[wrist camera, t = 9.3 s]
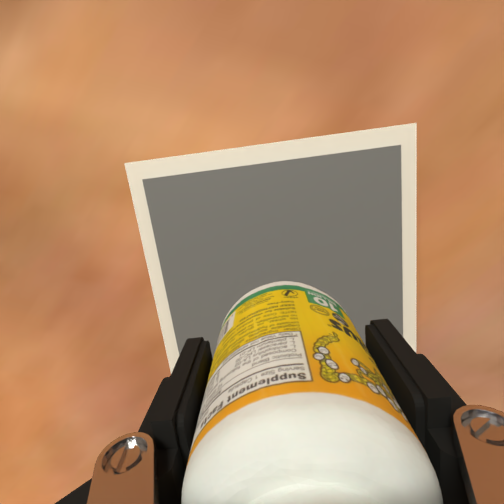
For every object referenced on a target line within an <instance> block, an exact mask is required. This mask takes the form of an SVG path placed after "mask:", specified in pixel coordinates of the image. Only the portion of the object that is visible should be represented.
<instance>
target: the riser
mask: <svg viewBox="0 0 504 504" xmlns="http://www.w3.org/2000/svg"><path fill="white" fill-rule="evenodd" d="M125 168H126V172H127V177H128V181H129V186H130V190H131V195H132V199H133V204H134V208H135V213H136V217H137V222H138V226H139V231H140V235H141V240H142V245H143V249H144V254H145V258H146V263H147V267H148V272H149V276H150V281H151V285H152V290H153V294H154V299H155V303H156V308H157V312H158V317H159V321H160V326H161V330H162V335H163V339H164V344H165V348H166V353H167V357H168V362H169V366H170V371H171V374H172V371H173V369H174V367H175V364H176V362H177V360H178V358H179V355H180V353H181V351H182V349H183V346H184V344H185V342H186V340H187V339H188V338H198V337H203V338H204V341H209V343H210V348H211V353H212V359H213V356H214V352H215V349H216V345H217V341H218V338H219V334H220V331H221V327H222V324H223V321H224V319H225V317H226V315H227V314H228V312H229V311H230V309H231V308H232V307H233V305H234V304H235V303H236V302H237V301H238V300H239V299H240V298H241V297H243V296H244V295H245V294H247V293H248V292H250V291H252V290H254V289H256V288H258V287H260V286H263V285H266V284H269V283H273V282H279V281H292V282H299V283H303V284H306V285H309V286H312V287H314V288H316V289H318V290H320V291H322V292H324V293H326V294H328V295H329V296H330V297H332V298H333V299H334V300H336V301H337V302H338V303H339V304H340V305H341V307H342V308H343V309H344V310H345V312H346V313H347V315H348V317H349V318H350V320H351V322H352V323H353V325H354V327H355V329H356V330H357V332H358V334H359V335H360V337H361V339H362V341H363V342H364V344H365V346H366V341H365V325H370V321H371V320H378V319H389V321H390V322H391V323H392V324H393V325H394V327H395V328H396V329H397V330H398V332H399V333H400V334H401V335H402V336H403V338H404V339H405V340H406V341H407V343H408V344H409V345H410V346H411V348H412V349H413V350H414V351H415V352H416V123H412V124H405V125H397V126H390V127H383V128H376V129H369V130H361V131H354V132H347V133H340V134H333V135H325V136H318V137H311V138H304V139H296V140H289V141H282V142H275V143H268V144H260V145H253V146H246V147H239V148H231V149H224V150H217V151H210V152H203V153H195V154H188V155H181V156H174V157H166V158H159V159H152V160H145V161H138V162H130V163H125Z"/></svg>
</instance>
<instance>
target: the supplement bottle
mask: <svg viewBox="0 0 504 504" xmlns="http://www.w3.org/2000/svg"><path fill="white" fill-rule="evenodd" d="M181 504H443V499H442V493H441V489H440V485H439V481H438V478H437V475H436V472H435V470H434V468H433V466H432V464H431V462H430V459H429V457H428V455H427V453H426V451H425V449H424V447H423V446H422V444H421V442H420V441H419V439H418V437H417V435H416V434H415V432H414V430H413V429H412V427H411V425H410V423H409V422H408V420H407V418H406V416H405V415H404V413H403V411H402V409H401V408H400V406H399V404H398V403H397V401H396V399H395V397H394V395H393V394H392V392H391V390H390V388H389V387H388V385H387V383H386V381H385V380H384V378H383V376H382V375H381V373H380V371H379V369H378V367H377V365H376V364H375V361H374V360H373V358H372V357H371V355H370V353H369V351H368V349H367V348H366V346H365V344H364V342H363V341H362V339H361V337H360V335H359V334H358V332H357V330H356V329H355V327H354V325H353V323H352V322H351V320H350V318H349V317H348V315H347V313H346V312H345V310H344V309H343V308H342V307H341V305H340V304H339V303H338V302H337V301H336V300H334V299H333V298H332V297H330V296H329V295H328V294H326V293H324V292H322V291H320V290H318V289H316V288H314V287H312V286H309V285H306V284H303V283H299V282H292V281H279V282H273V283H269V284H266V285H263V286H260V287H258V288H256V289H254V290H252V291H250V292H248V293H247V294H245V295H244V296H243V297H241V298H240V299H239V300H238V301H237V302H236V303H235V304H234V305H233V307H232V308H231V309H230V311H229V312H228V314H227V315H226V317H225V319H224V321H223V324H222V327H221V331H220V334H219V338H218V341H217V345H216V349H215V352H214V356H213V361H212V365H211V369H210V373H209V377H208V382H207V386H206V390H205V394H204V398H203V402H202V405H201V409H200V413H199V417H198V421H197V426H196V430H195V434H194V438H193V442H192V446H191V450H190V454H189V458H188V463H187V467H186V472H185V476H184V481H183V487H182V497H181Z"/></svg>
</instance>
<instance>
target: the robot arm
mask: <svg viewBox="0 0 504 504" xmlns="http://www.w3.org/2000/svg"><path fill="white" fill-rule="evenodd" d="M365 341H366V348H367V349H368V351H369V353H370V355H371V357H372V358H373V360H374V361H375V364H376V365H377V367H378V369H379V371H380V373H381V375H382V376H383V378H384V380H385V381H386V383H387V385H388V387H389V388H390V390H391V392H392V394H393V395H394V397H395V399H396V401H397V403H398V404H399V406H400V408H401V409H402V411H403V413H404V415H405V416H406V418H407V420H408V422H409V423H410V425H411V427H412V429H413V430H414V432H415V434H416V435H417V437H418V439H419V441H420V442H421V444H422V446H423V447H424V449H425V451H426V453H427V455H428V457H429V459H430V462H431V464H432V466H433V468H434V470H435V472H436V475H437V478H438V481H439V485H440V489H441V493H442V499H443V504H504V413H503V412H502V411H499V410H496V409H494V408H491V407H486V406H482V405H466V404H465V403H464V401H463V400H462V399H461V398H460V397H459V395H458V394H457V393H456V392H455V391H454V390H453V388H452V387H451V386H450V385H449V384H448V383H447V381H446V380H445V379H444V378H443V377H442V375H441V374H440V373H439V372H438V371H437V370H436V368H435V367H434V366H433V365H432V364H431V362H430V361H429V360H428V359H427V358H426V357H425V356H424V355H423V354H416V352H415V351H414V350H413V349H412V348H411V346H410V345H409V344H408V343H407V341H406V340H405V339H404V338H403V336H402V335H401V334H400V333H399V332H398V330H397V329H396V328H395V327H394V325H393V324H392V323H391V322H390V321H389V319H378V320H371V321H370V325H365ZM212 361H213V359H212V353H211V348H210V343H209V341H204V338H203V337H198V338H188V339H187V340H186V342H185V344H184V346H183V349H182V351H181V353H180V355H179V358H178V360H177V362H176V364H175V367H174V369H173V371H172V374H171V376H170V377H166V378H164V379H163V380H162V382H161V384H160V386H159V388H158V391H157V393H156V395H155V397H154V399H153V401H152V403H151V405H150V408H149V410H148V412H147V414H146V416H145V418H144V420H143V422H142V425H141V427H140V429H139V431H138V432H133V433H129V434H125V435H123V436H121V437H118V438H117V439H115V440H114V441H112V442H111V443H110V444H109V445H107V446H106V447H105V448H104V449H103V450H102V452H101V453H100V455H99V456H98V458H97V461H96V463H95V467H94V472H93V477H92V479H90V480H89V481H87V482H86V483H84V484H83V485H81V486H80V487H78V488H77V489H75V490H74V491H73V492H71V493H70V494H68V495H67V496H65V497H64V498H62V499H61V500H59V501H58V502H56V503H55V504H181V497H182V487H183V481H184V476H185V472H186V467H187V463H188V458H189V454H190V450H191V446H192V442H193V438H194V434H195V430H196V426H197V421H198V417H199V413H200V409H201V405H202V402H203V398H204V394H205V390H206V386H207V382H208V377H209V373H210V369H211V365H212Z"/></svg>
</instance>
